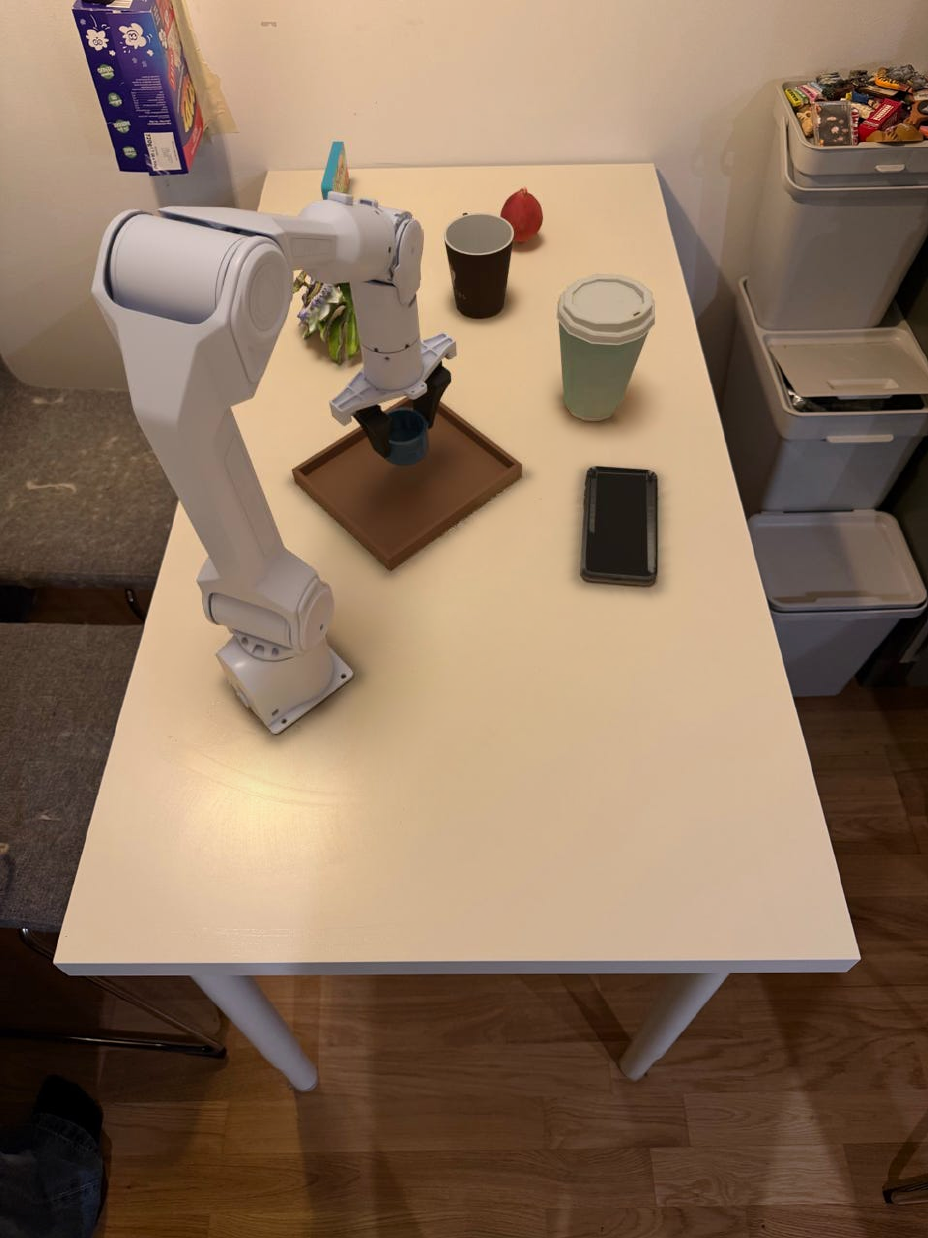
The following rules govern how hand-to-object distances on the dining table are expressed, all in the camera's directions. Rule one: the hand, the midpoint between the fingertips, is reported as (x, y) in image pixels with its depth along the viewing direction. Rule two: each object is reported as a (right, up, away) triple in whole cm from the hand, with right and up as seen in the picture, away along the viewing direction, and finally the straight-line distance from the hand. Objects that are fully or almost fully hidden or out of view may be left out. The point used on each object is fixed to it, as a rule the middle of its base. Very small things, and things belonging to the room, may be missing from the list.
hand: (402, 437), depth 89 cm
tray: (0, -3, +5) cm, 6 cm away
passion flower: (-9, +18, +19) cm, 28 cm away
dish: (0, -1, +1) cm, 1 cm away
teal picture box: (-12, +42, +35) cm, 56 cm away
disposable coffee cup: (+22, +7, +11) cm, 26 cm away
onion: (+15, +34, +29) cm, 47 cm away
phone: (+23, -10, +1) cm, 25 cm away
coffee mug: (+9, +24, +23) cm, 34 cm away
